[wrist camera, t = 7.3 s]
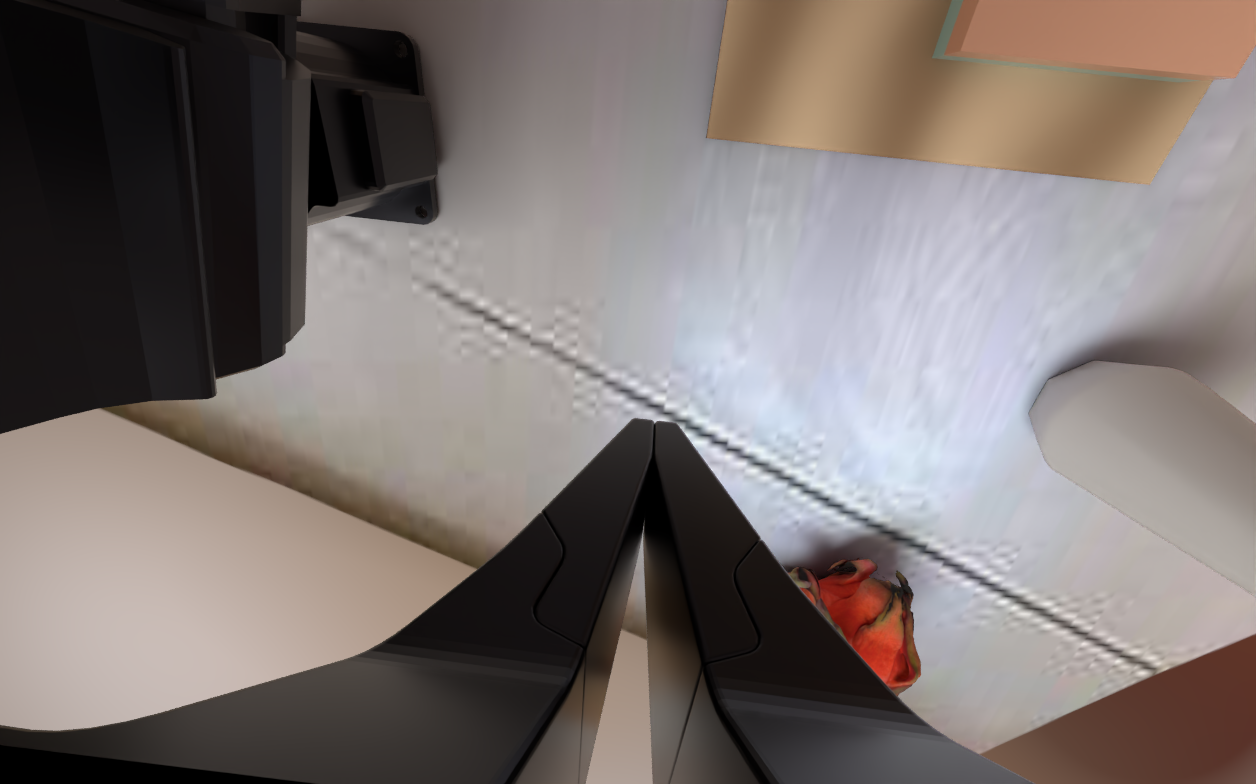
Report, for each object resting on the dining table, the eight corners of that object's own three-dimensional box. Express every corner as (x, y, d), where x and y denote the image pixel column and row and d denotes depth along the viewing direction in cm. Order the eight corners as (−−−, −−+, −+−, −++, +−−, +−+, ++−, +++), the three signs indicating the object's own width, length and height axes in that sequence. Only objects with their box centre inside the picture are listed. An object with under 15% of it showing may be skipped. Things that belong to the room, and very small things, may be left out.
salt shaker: (1187, 383, 21) (1785, 689, 10) (1068, 467, 24) (1425, 783, 12) (1095, 320, 20) (1643, 580, 9) (981, 416, 22) (1284, 710, 11)
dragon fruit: (736, 614, 34) (844, 495, 30) (838, 716, 31) (975, 598, 26) (688, 680, 27) (821, 535, 23) (814, 824, 23) (998, 684, 19)
